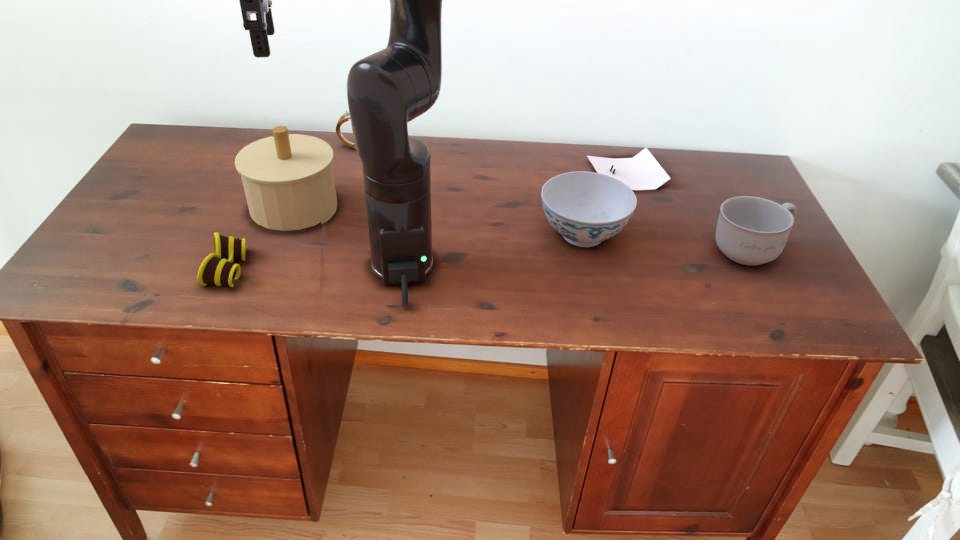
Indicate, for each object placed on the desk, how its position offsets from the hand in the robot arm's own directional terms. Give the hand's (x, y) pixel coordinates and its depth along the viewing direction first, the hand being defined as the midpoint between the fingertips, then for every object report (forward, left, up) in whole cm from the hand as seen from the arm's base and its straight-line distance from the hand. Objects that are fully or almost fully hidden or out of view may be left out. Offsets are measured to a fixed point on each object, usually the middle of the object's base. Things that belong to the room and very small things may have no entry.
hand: (265, 45), depth 94 cm
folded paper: (+4, -61, -28) cm, 67 cm away
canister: (0, 0, -28) cm, 28 cm away
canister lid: (0, 0, -19) cm, 19 cm away
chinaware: (-14, -47, -28) cm, 57 cm away
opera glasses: (-16, +9, -28) cm, 34 cm away
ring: (+20, -11, -28) cm, 36 cm away
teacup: (-22, -73, -28) cm, 81 cm away
